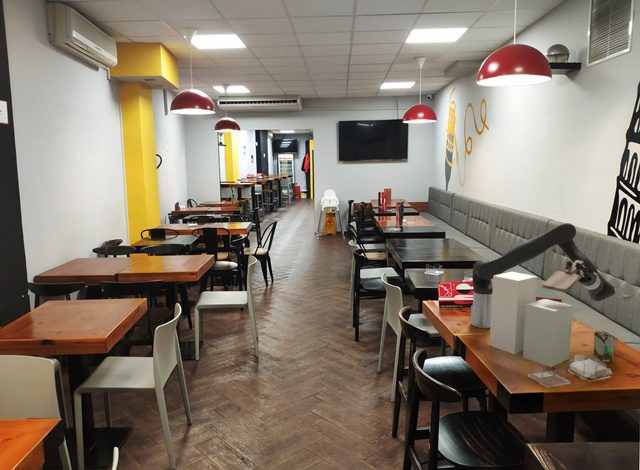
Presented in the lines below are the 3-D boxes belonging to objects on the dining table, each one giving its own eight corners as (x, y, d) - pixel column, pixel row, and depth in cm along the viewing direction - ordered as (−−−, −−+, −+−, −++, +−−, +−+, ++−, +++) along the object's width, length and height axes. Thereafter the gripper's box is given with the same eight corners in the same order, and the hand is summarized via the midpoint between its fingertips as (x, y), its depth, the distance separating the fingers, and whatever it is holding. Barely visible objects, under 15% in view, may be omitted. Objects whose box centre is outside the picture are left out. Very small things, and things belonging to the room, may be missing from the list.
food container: (620, 366, 186) (622, 342, 184) (603, 365, 187) (605, 341, 185) (608, 354, 198) (610, 331, 196) (592, 353, 199) (594, 330, 197)
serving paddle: (542, 287, 195) (541, 283, 195) (568, 262, 206) (568, 258, 205) (566, 292, 187) (565, 288, 186) (592, 266, 198) (592, 262, 197)
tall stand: (489, 345, 208) (493, 275, 203) (508, 339, 216) (512, 271, 211) (514, 354, 198) (518, 280, 193) (532, 347, 206) (537, 276, 201)
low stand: (522, 357, 195) (526, 304, 191) (541, 349, 202) (544, 298, 199) (550, 367, 185) (554, 311, 182) (569, 359, 193) (573, 305, 190)
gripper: (574, 268, 213) (558, 253, 204) (607, 273, 202) (592, 258, 192) (569, 283, 212) (553, 268, 202) (602, 289, 201) (586, 274, 191)
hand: (572, 263), depth 197 cm, fingers closed on serving paddle, 3 cm apart
